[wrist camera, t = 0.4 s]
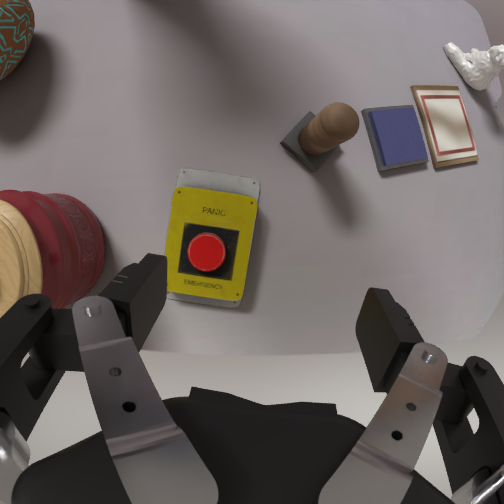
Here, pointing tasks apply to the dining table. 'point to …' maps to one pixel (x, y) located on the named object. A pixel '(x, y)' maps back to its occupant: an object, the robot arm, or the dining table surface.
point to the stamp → (321, 134)
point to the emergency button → (210, 237)
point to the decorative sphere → (14, 33)
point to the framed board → (445, 124)
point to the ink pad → (395, 136)
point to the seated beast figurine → (477, 64)
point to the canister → (47, 248)
